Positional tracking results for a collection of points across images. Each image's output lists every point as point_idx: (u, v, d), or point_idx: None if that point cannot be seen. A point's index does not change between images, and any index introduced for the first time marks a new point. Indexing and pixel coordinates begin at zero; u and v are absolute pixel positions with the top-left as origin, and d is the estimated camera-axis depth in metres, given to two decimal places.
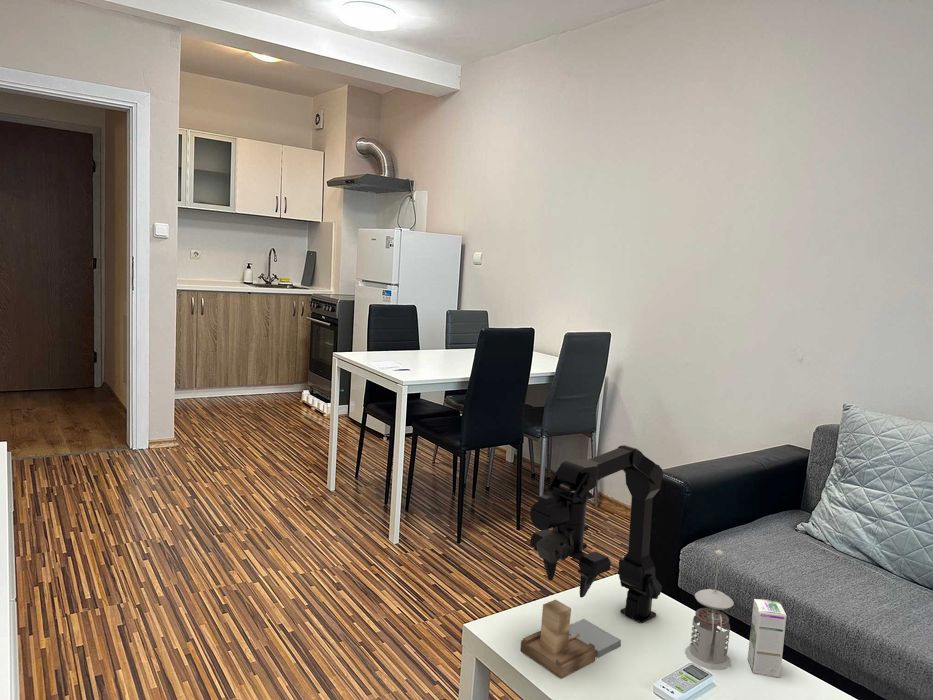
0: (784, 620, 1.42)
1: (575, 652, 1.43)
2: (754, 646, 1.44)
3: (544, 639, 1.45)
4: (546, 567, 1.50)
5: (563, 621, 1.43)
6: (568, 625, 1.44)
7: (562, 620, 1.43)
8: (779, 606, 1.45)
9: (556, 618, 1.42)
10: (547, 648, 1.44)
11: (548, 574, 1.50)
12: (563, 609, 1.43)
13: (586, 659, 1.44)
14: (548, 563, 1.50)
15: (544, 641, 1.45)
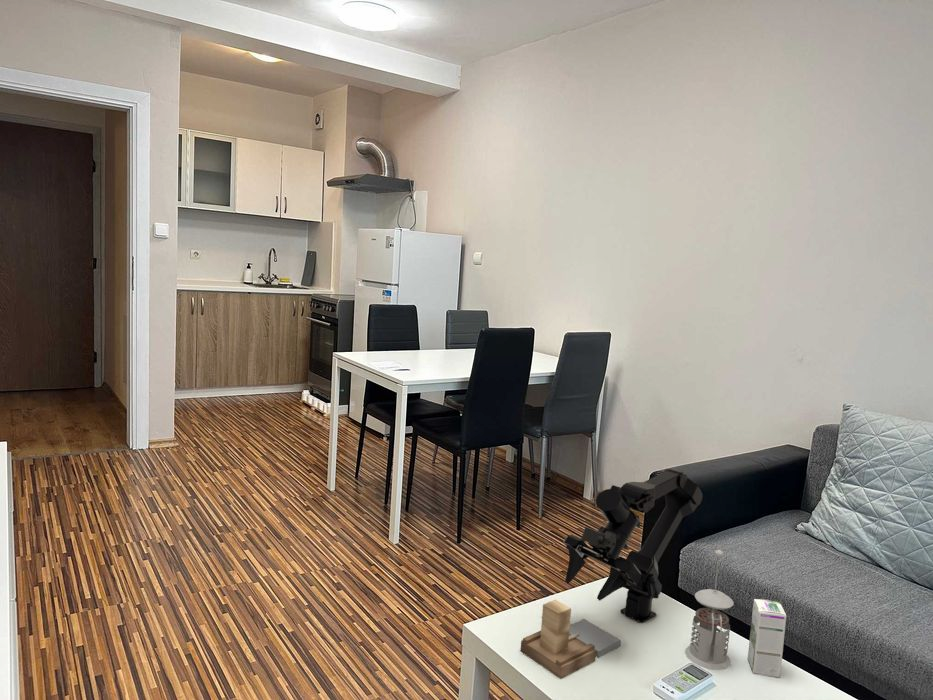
0: (784, 620, 1.42)
1: (575, 652, 1.43)
2: (754, 646, 1.44)
3: (544, 639, 1.45)
4: (569, 568, 1.54)
5: (563, 621, 1.43)
6: (568, 625, 1.44)
7: (562, 620, 1.43)
8: (778, 606, 1.45)
9: (556, 618, 1.42)
10: (547, 648, 1.44)
11: (568, 575, 1.53)
12: (563, 609, 1.43)
13: (586, 659, 1.44)
14: (573, 565, 1.54)
15: (544, 641, 1.45)
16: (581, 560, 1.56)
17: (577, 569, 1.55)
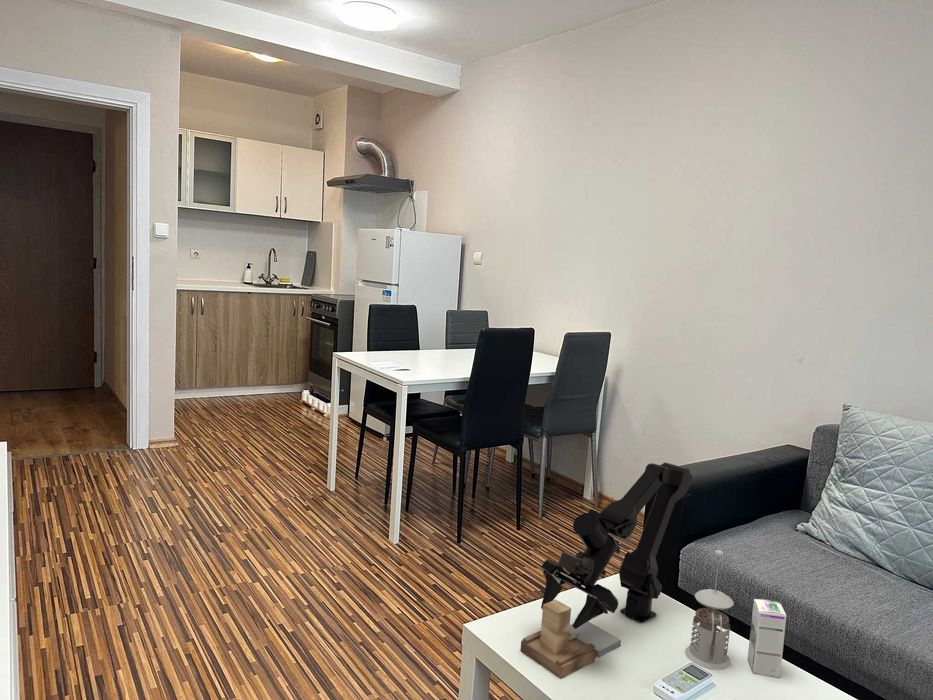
0: (784, 620, 1.42)
1: (575, 652, 1.43)
2: (754, 646, 1.44)
3: (544, 639, 1.45)
4: (545, 594, 1.49)
5: (563, 621, 1.43)
6: (568, 625, 1.44)
7: (562, 620, 1.43)
8: (779, 606, 1.45)
9: (556, 618, 1.42)
10: (547, 648, 1.44)
11: (544, 601, 1.49)
12: (563, 609, 1.43)
13: (586, 659, 1.44)
14: (550, 591, 1.50)
15: (544, 641, 1.45)
16: (558, 586, 1.52)
17: (554, 595, 1.51)
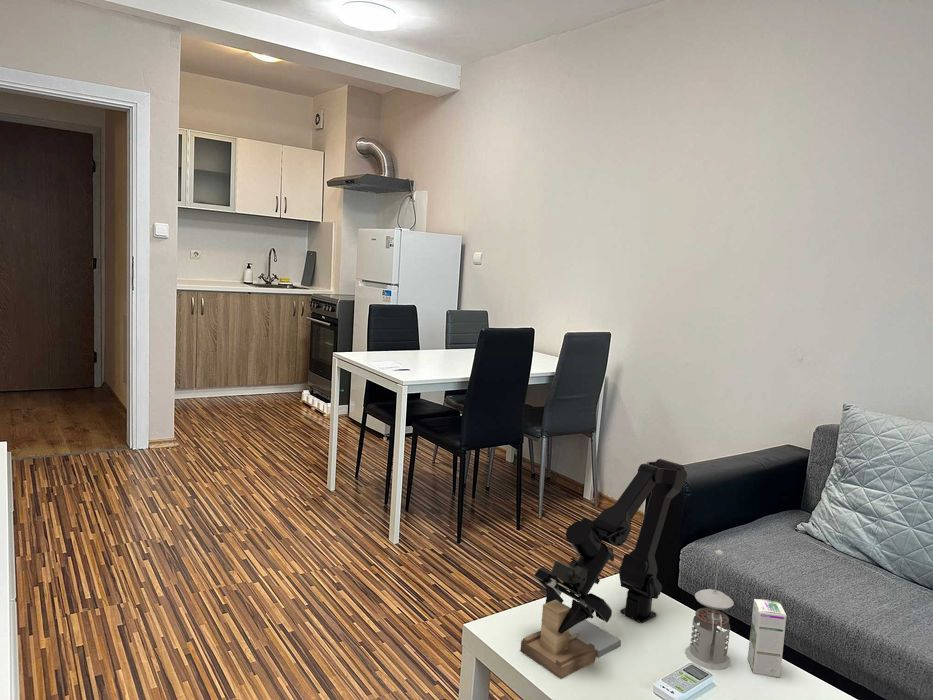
0: (784, 620, 1.42)
1: (575, 652, 1.43)
2: (754, 646, 1.44)
3: (544, 639, 1.45)
4: None
5: None
6: None
7: (562, 620, 1.43)
8: (779, 606, 1.45)
9: (556, 618, 1.42)
10: (547, 648, 1.44)
11: None
12: (563, 609, 1.43)
13: (586, 659, 1.44)
14: None
15: (544, 641, 1.45)
16: (559, 598, 1.49)
17: None
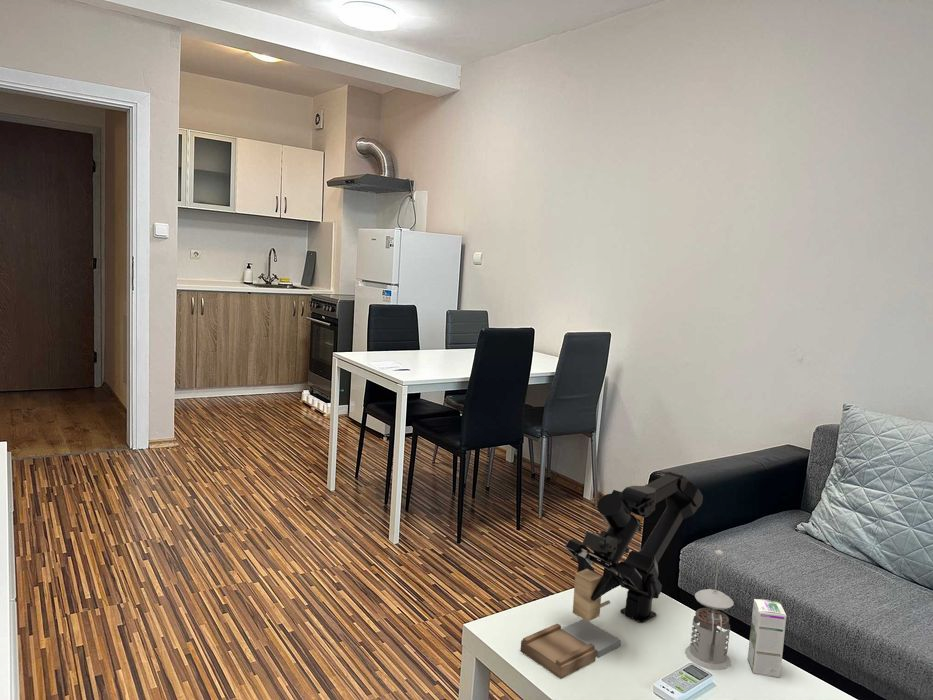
0: (784, 620, 1.42)
1: (575, 652, 1.43)
2: (754, 646, 1.44)
3: (577, 606, 1.51)
4: None
5: (595, 588, 1.49)
6: None
7: (594, 588, 1.48)
8: (779, 606, 1.45)
9: (589, 586, 1.48)
10: (580, 615, 1.50)
11: None
12: (595, 577, 1.49)
13: (586, 659, 1.44)
14: None
15: (577, 608, 1.51)
16: (590, 568, 1.55)
17: None
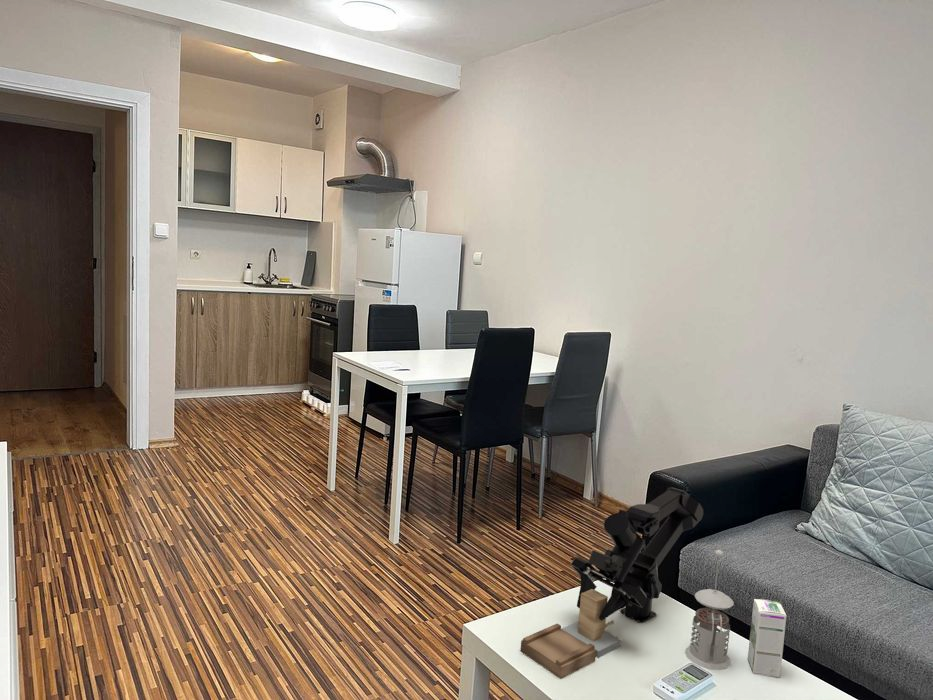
0: (784, 620, 1.42)
1: (575, 652, 1.43)
2: (754, 646, 1.44)
3: (582, 626, 1.53)
4: (581, 592, 1.55)
5: (601, 609, 1.51)
6: None
7: (600, 608, 1.51)
8: (779, 606, 1.45)
9: (594, 606, 1.50)
10: (585, 635, 1.52)
11: (579, 599, 1.55)
12: (601, 598, 1.51)
13: (586, 659, 1.44)
14: (585, 589, 1.56)
15: (582, 628, 1.53)
16: (592, 585, 1.58)
17: None
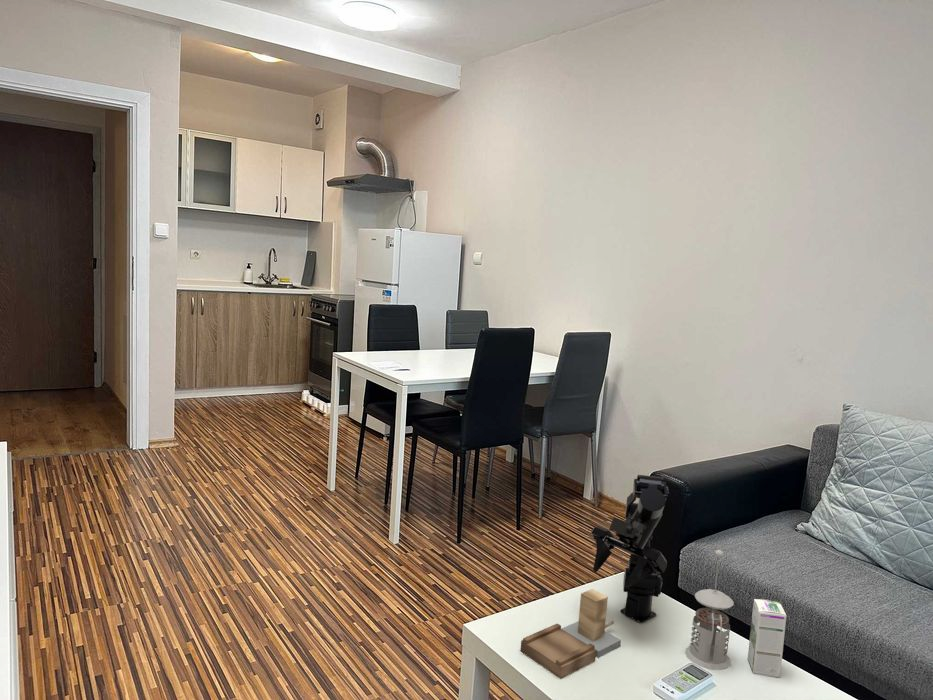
0: (784, 620, 1.42)
1: (575, 652, 1.43)
2: (754, 646, 1.44)
3: (582, 626, 1.53)
4: (597, 557, 1.60)
5: (601, 609, 1.51)
6: (605, 613, 1.52)
7: (600, 608, 1.51)
8: (779, 606, 1.45)
9: (594, 606, 1.50)
10: (585, 635, 1.52)
11: (595, 564, 1.59)
12: (601, 598, 1.51)
13: (586, 659, 1.44)
14: (600, 554, 1.60)
15: (582, 628, 1.53)
16: (608, 550, 1.62)
17: (604, 559, 1.61)
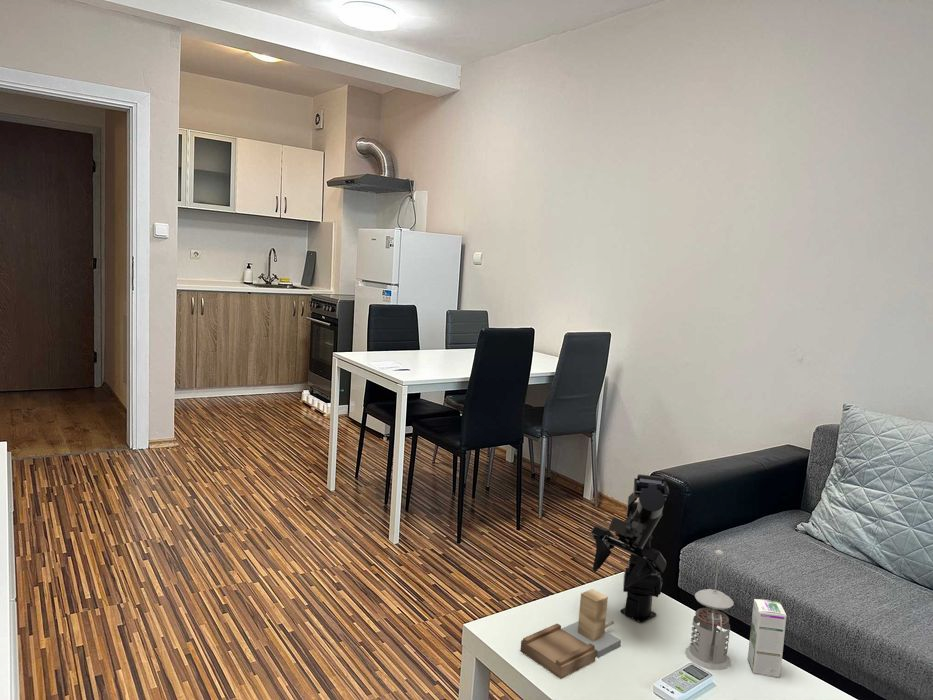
0: (784, 620, 1.42)
1: (575, 652, 1.43)
2: (754, 646, 1.44)
3: (582, 626, 1.53)
4: (596, 557, 1.60)
5: (601, 609, 1.51)
6: (605, 613, 1.52)
7: (600, 608, 1.51)
8: (779, 606, 1.45)
9: (594, 606, 1.50)
10: (585, 635, 1.52)
11: (595, 564, 1.59)
12: (601, 598, 1.51)
13: (586, 659, 1.44)
14: (600, 554, 1.60)
15: (582, 628, 1.53)
16: (607, 550, 1.62)
17: (604, 558, 1.61)
